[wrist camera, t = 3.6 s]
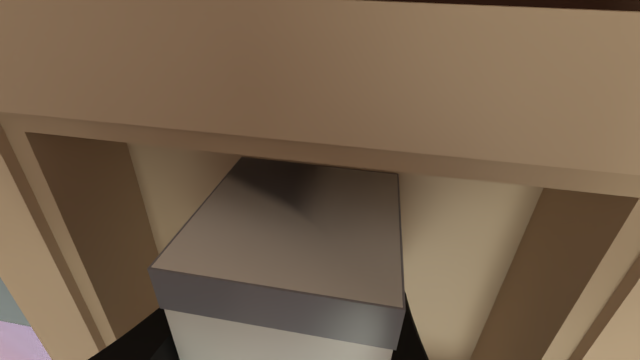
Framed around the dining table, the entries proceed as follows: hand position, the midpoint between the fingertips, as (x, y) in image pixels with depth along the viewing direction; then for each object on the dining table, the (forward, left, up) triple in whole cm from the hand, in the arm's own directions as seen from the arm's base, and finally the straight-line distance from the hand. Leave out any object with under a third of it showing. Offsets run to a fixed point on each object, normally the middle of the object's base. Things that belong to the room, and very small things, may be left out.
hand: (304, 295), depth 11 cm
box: (0, 0, -2) cm, 2 cm away
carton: (0, 0, -2) cm, 2 cm away
